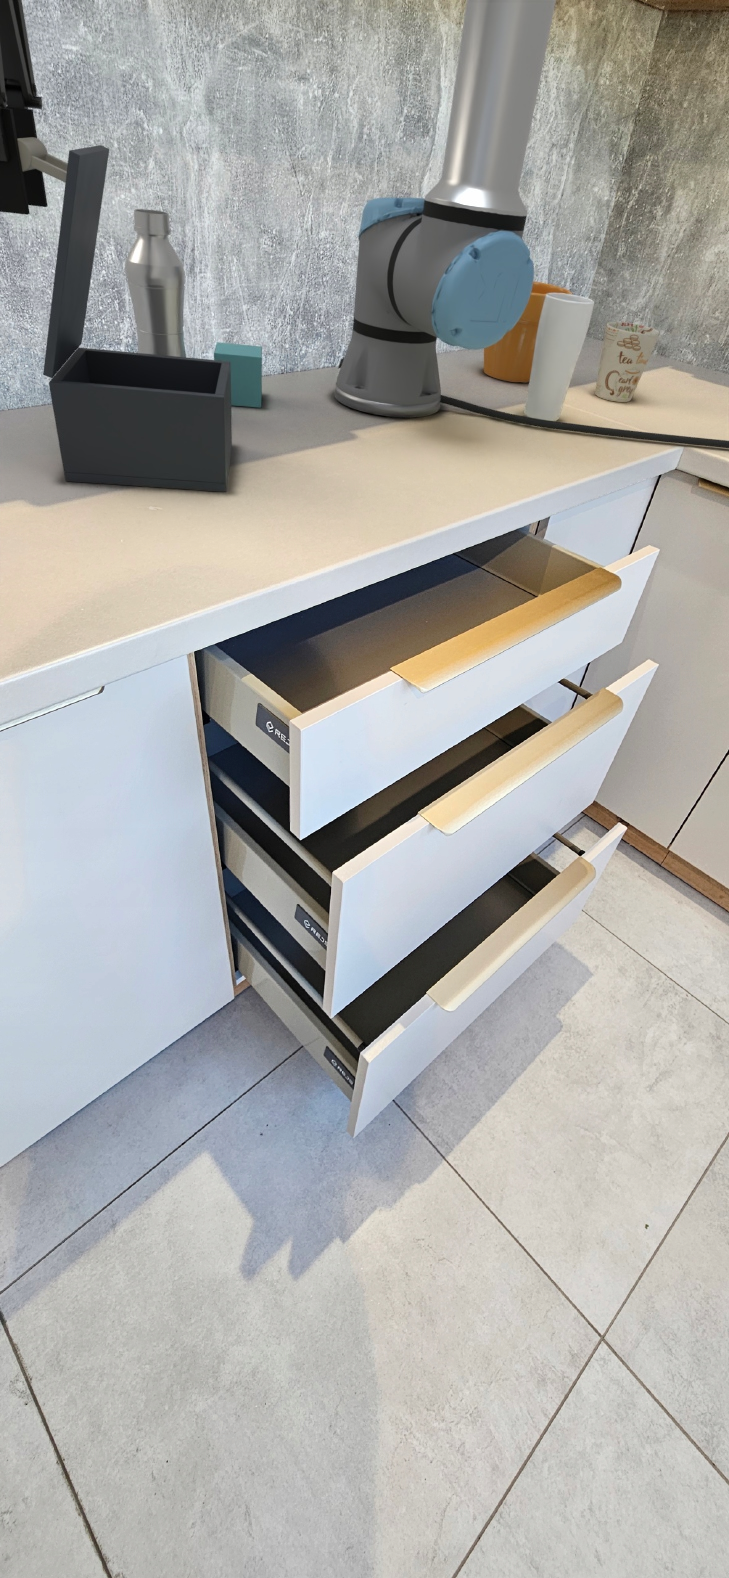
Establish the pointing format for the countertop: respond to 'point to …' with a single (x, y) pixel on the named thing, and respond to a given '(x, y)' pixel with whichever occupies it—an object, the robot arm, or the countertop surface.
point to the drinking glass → (556, 353)
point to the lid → (70, 241)
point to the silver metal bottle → (156, 286)
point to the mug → (623, 359)
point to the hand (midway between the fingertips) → (21, 208)
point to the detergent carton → (243, 372)
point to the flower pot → (519, 340)
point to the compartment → (144, 419)
